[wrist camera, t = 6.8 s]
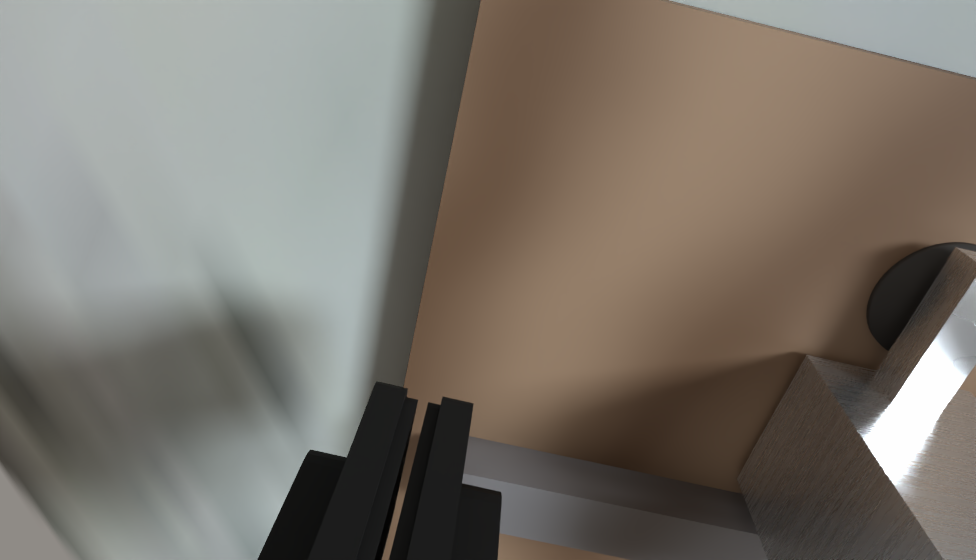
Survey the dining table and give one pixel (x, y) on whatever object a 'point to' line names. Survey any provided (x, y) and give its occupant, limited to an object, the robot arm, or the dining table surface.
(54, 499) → the dining table surface
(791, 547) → the metal block with knob
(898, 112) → the board
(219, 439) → the dining table surface
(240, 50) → the dining table surface
